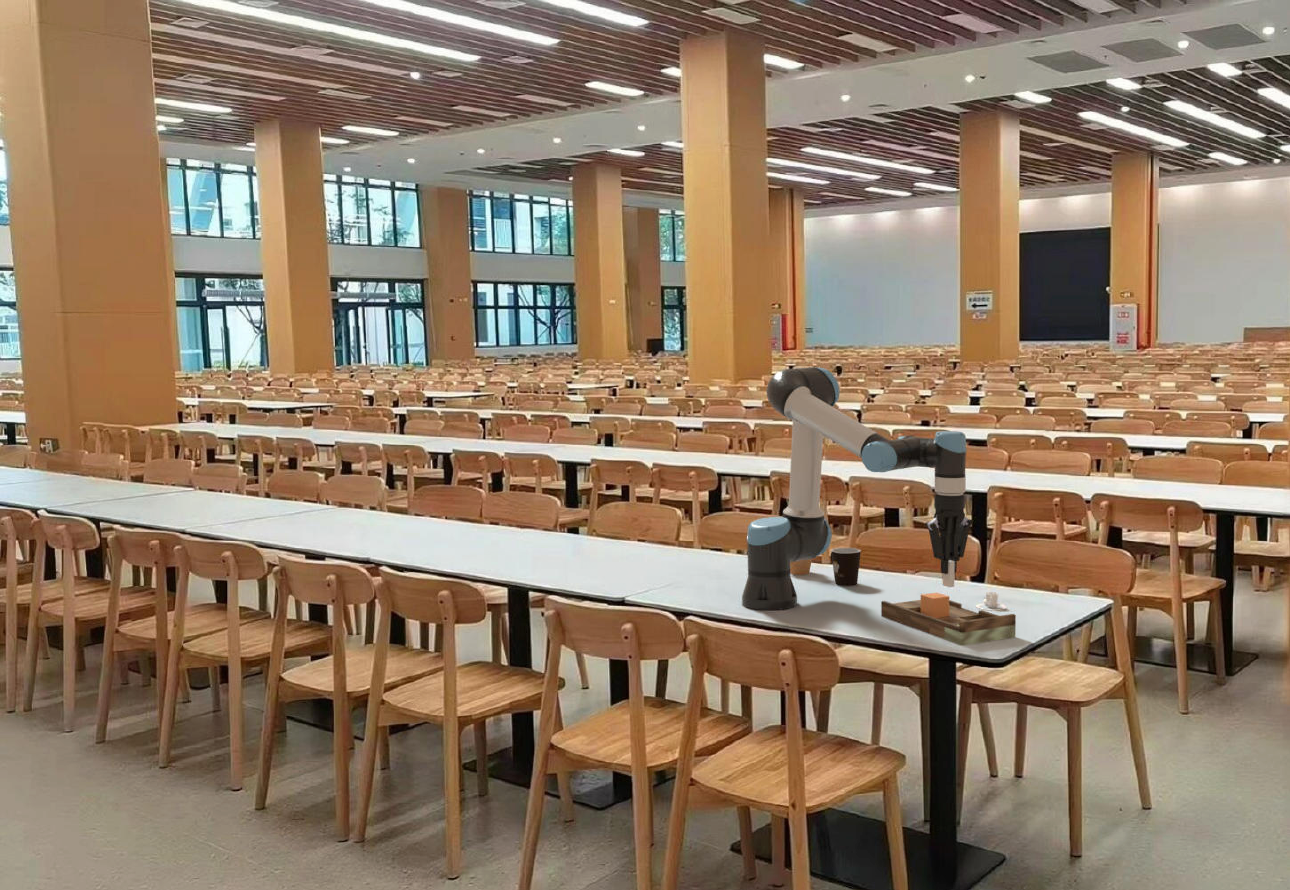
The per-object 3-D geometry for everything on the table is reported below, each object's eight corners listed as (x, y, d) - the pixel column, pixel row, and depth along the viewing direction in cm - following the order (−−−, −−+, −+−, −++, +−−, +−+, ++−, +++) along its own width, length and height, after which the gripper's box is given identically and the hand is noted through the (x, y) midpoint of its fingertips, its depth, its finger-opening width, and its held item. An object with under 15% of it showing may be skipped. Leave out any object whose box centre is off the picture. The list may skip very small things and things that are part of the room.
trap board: (961, 645, 288) (961, 622, 288) (881, 616, 318) (881, 595, 318) (1015, 636, 294) (1015, 614, 294) (931, 609, 325) (931, 589, 324)
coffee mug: (863, 586, 354) (862, 552, 353) (833, 587, 354) (833, 553, 353) (857, 578, 366) (856, 545, 365) (828, 579, 366) (828, 546, 365)
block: (932, 618, 303) (932, 598, 302) (920, 614, 307) (920, 594, 307) (949, 615, 305) (949, 596, 304) (936, 611, 309) (936, 592, 309)
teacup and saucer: (984, 603, 332) (985, 588, 332) (1012, 606, 327) (1013, 592, 327) (970, 609, 325) (970, 594, 325) (999, 613, 320) (999, 598, 320)
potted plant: (777, 572, 378) (776, 493, 376) (802, 568, 382) (801, 490, 380) (796, 577, 369) (795, 497, 367) (821, 573, 374) (821, 494, 371)
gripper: (961, 489, 310) (960, 580, 312) (919, 493, 304) (917, 585, 307) (980, 493, 303) (978, 586, 305) (937, 497, 298) (936, 591, 300)
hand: (948, 585), depth 306 cm, fingers closed
